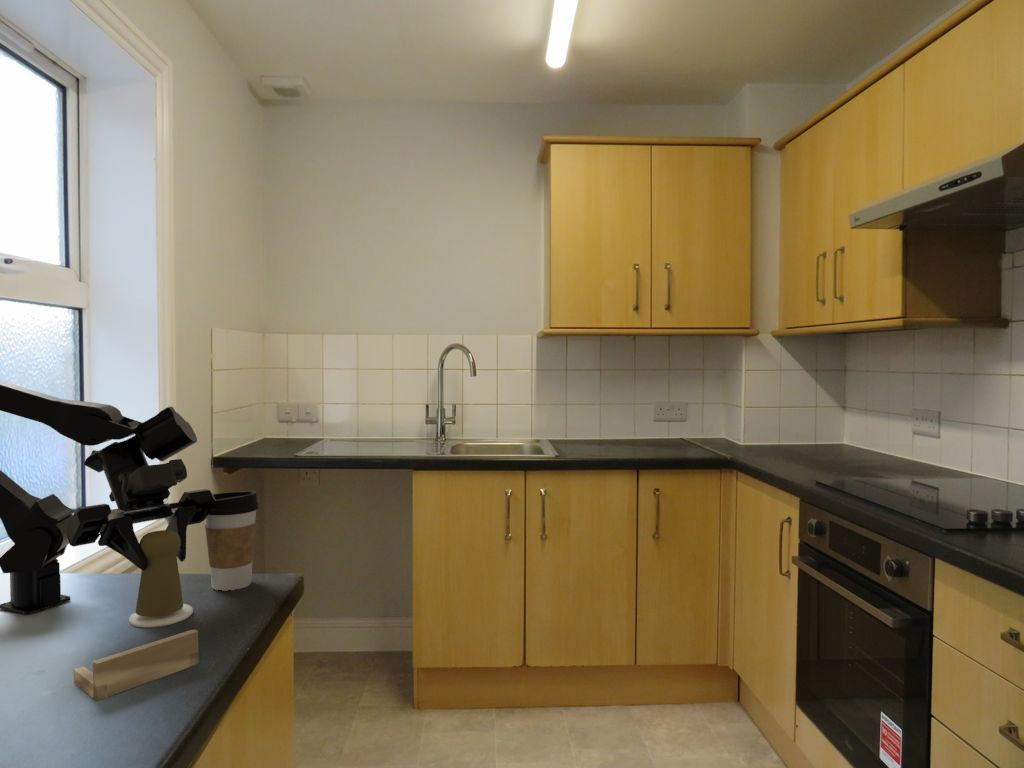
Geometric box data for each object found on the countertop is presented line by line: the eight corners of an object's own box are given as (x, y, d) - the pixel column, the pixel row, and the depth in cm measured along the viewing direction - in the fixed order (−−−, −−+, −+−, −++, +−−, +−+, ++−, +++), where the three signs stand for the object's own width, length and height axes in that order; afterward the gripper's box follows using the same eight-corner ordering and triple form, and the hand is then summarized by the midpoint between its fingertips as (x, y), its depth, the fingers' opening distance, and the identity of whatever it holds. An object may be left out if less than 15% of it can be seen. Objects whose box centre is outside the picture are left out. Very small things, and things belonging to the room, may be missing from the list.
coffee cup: (239, 595, 103) (238, 499, 102) (191, 591, 104) (190, 497, 104) (269, 578, 111) (269, 489, 110) (224, 574, 112) (223, 487, 112)
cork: (132, 619, 90) (133, 538, 90) (137, 604, 96) (138, 528, 95) (182, 613, 92) (182, 535, 92) (184, 599, 98) (185, 525, 98)
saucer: (115, 622, 92) (115, 619, 92) (165, 602, 99) (165, 600, 99) (157, 631, 89) (157, 628, 89) (205, 610, 96) (205, 607, 96)
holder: (73, 682, 75) (73, 647, 75) (172, 649, 83) (172, 618, 83) (97, 700, 71) (96, 664, 71) (198, 663, 79) (198, 631, 79)
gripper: (73, 448, 88) (108, 545, 82) (209, 437, 103) (248, 518, 97) (52, 499, 93) (84, 593, 87) (185, 481, 108) (220, 561, 102)
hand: (164, 564), depth 93 cm, fingers closed on cork, 5 cm apart
